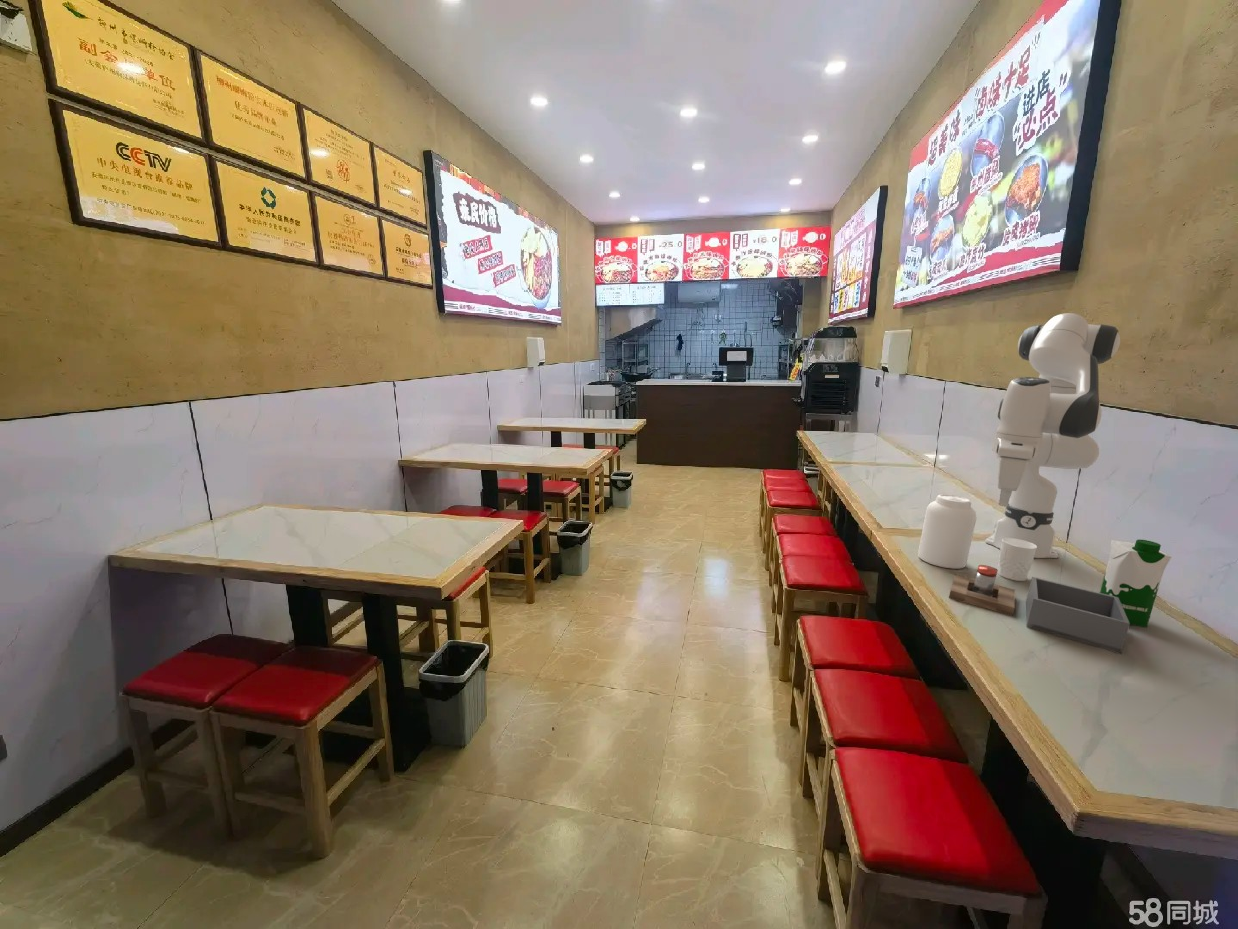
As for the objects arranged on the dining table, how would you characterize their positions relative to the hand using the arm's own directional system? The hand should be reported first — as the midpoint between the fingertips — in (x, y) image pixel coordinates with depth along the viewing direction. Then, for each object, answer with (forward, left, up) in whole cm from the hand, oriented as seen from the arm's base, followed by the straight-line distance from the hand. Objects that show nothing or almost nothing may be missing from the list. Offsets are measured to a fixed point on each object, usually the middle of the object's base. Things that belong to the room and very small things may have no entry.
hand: (1003, 501), depth 125 cm
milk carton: (-12, +27, -26) cm, 39 cm away
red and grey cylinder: (0, 0, -26) cm, 26 cm away
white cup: (-23, +6, -26) cm, 35 cm away
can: (-21, -11, -26) cm, 35 cm away
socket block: (0, 0, -26) cm, 26 cm away
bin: (+3, +17, -26) cm, 31 cm away
